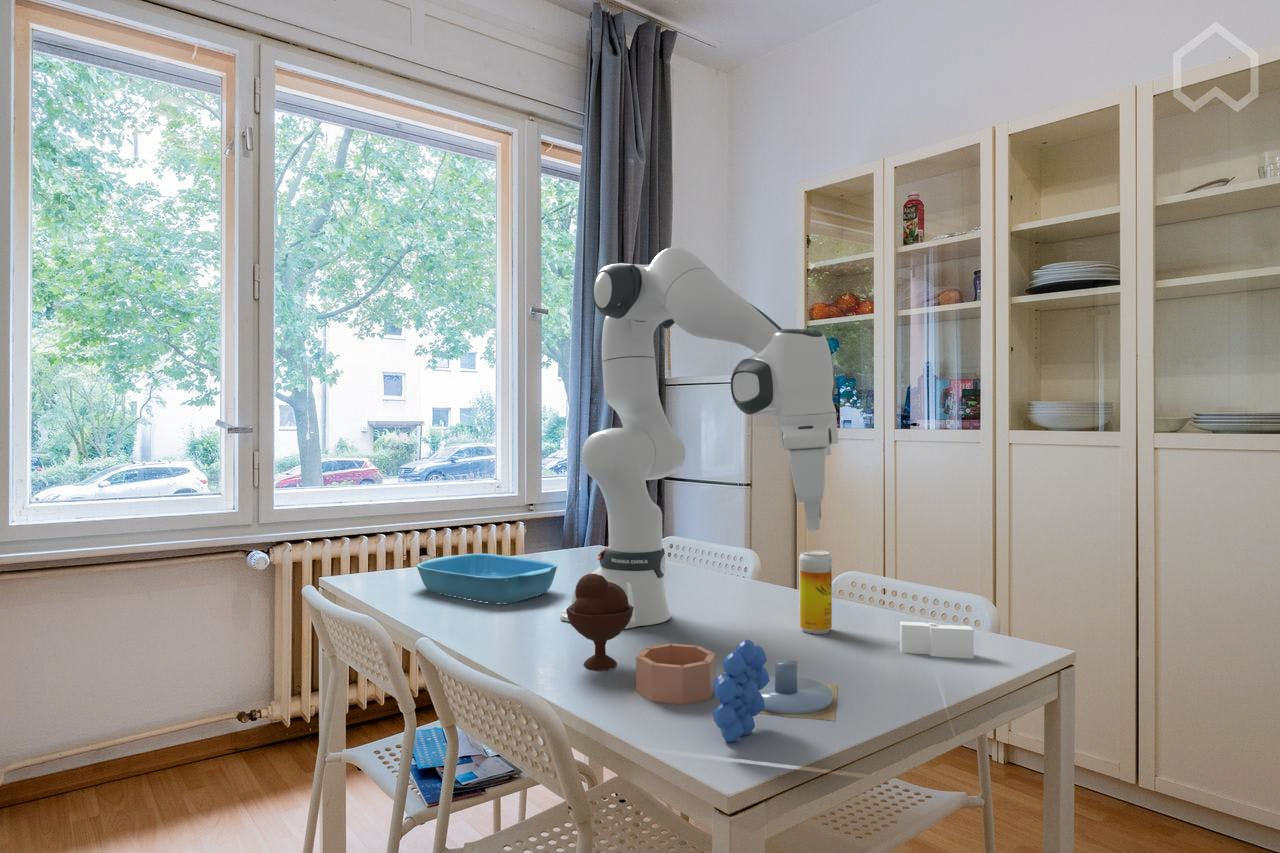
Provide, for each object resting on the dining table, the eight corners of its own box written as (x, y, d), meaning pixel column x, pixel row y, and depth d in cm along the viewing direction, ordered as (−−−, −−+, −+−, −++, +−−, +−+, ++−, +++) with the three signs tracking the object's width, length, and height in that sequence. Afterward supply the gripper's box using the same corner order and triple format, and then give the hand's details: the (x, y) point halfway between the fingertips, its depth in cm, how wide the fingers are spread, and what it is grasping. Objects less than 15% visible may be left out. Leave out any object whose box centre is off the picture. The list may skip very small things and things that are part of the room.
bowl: (629, 701, 109) (629, 663, 109) (650, 676, 120) (650, 641, 120) (705, 709, 106) (705, 669, 106) (719, 683, 117) (719, 647, 117)
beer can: (832, 635, 143) (832, 555, 143) (799, 633, 144) (799, 554, 144) (830, 627, 149) (830, 550, 149) (799, 625, 150) (798, 549, 150)
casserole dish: (399, 591, 183) (399, 561, 183) (472, 576, 201) (472, 549, 201) (504, 613, 161) (504, 580, 161) (575, 594, 179) (575, 564, 179)
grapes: (735, 714, 104) (735, 627, 104) (780, 726, 100) (780, 635, 100) (688, 743, 95) (688, 647, 95) (735, 757, 91) (735, 657, 91)
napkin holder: (991, 658, 130) (991, 625, 130) (959, 673, 123) (959, 637, 123) (910, 639, 142) (910, 609, 142) (876, 652, 134) (876, 619, 134)
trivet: (729, 713, 105) (729, 710, 105) (744, 680, 118) (744, 677, 118) (834, 723, 101) (834, 720, 101) (837, 688, 114) (837, 685, 114)
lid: (734, 709, 105) (734, 673, 105) (747, 679, 118) (747, 646, 118) (831, 718, 101) (831, 681, 101) (834, 686, 114) (833, 653, 114)
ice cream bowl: (580, 679, 119) (580, 583, 118) (559, 659, 129) (558, 570, 129) (643, 670, 123) (642, 577, 123) (617, 651, 133) (617, 566, 133)
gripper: (790, 433, 126) (797, 516, 127) (782, 438, 107) (789, 536, 107) (829, 430, 125) (836, 514, 125) (828, 434, 105) (836, 534, 105)
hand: (814, 524), depth 116 cm, fingers open, 8 cm apart
